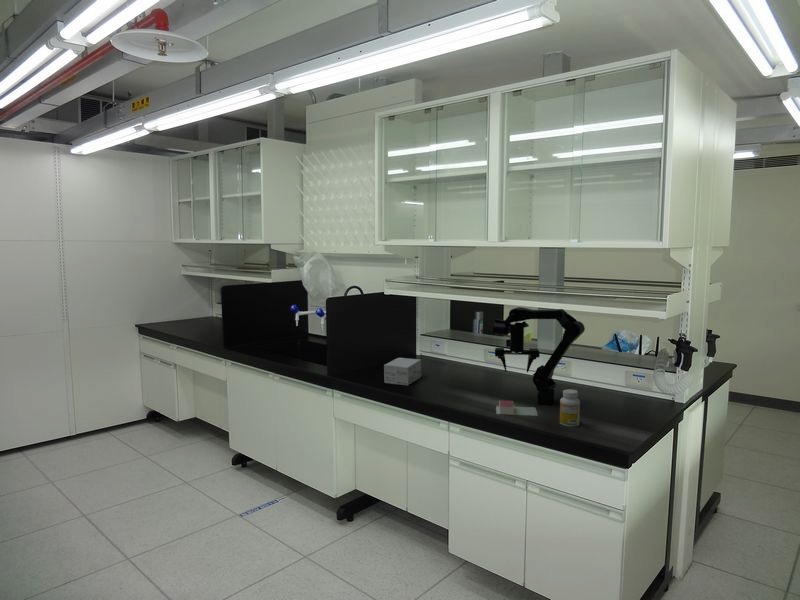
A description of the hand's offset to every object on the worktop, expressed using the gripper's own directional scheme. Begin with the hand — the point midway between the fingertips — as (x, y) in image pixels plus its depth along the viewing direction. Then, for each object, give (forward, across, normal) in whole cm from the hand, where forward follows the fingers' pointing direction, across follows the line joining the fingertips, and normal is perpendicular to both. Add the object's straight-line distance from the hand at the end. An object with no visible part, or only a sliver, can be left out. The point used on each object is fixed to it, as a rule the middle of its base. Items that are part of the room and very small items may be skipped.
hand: (516, 371), depth 231 cm
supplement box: (+12, +54, -25) cm, 61 cm away
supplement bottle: (+12, -18, +30) cm, 37 cm away
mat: (+12, +1, +18) cm, 22 cm away
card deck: (+12, +5, +19) cm, 23 cm away
